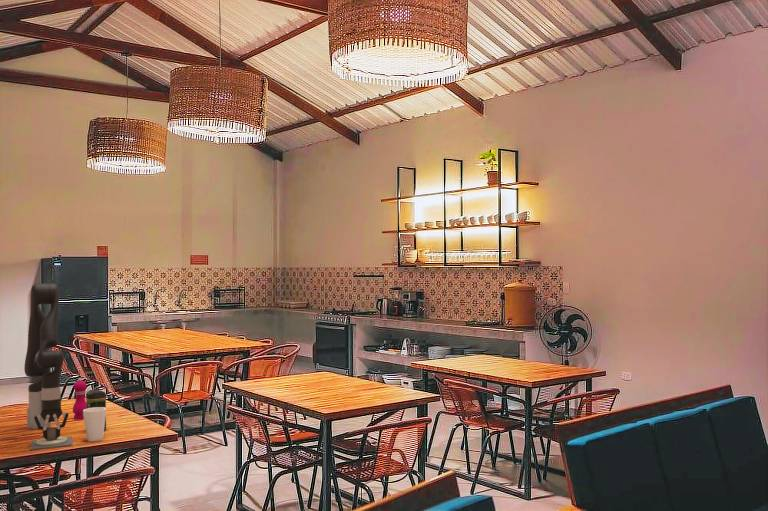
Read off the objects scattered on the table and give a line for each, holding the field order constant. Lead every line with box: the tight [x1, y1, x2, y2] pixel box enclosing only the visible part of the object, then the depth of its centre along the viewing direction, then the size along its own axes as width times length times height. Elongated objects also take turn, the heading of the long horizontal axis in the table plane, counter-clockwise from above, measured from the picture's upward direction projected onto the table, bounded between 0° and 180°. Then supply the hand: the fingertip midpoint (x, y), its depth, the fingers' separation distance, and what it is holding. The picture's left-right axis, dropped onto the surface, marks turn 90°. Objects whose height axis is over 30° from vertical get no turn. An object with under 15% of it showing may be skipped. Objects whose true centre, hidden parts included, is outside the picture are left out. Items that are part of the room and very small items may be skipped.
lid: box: [36, 426, 68, 446], centre depth 311 cm, size 12×12×6 cm
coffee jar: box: [85, 388, 107, 431], centre depth 335 cm, size 10×8×19 cm
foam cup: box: [83, 407, 107, 442], centre depth 318 cm, size 10×9×13 cm
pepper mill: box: [72, 377, 88, 421], centre depth 363 cm, size 7×7×20 cm
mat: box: [29, 436, 74, 451], centre depth 311 cm, size 16×16×1 cm
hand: (51, 438), depth 311 cm, fingers closed on lid, 4 cm apart
